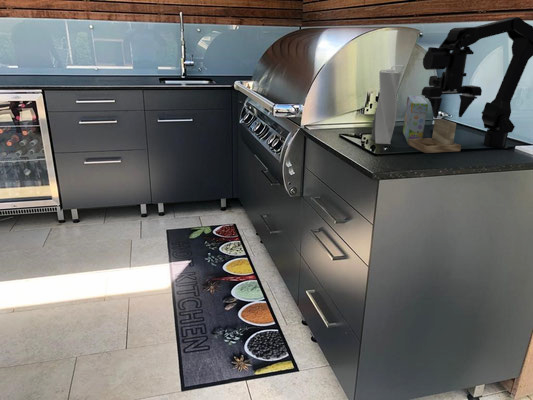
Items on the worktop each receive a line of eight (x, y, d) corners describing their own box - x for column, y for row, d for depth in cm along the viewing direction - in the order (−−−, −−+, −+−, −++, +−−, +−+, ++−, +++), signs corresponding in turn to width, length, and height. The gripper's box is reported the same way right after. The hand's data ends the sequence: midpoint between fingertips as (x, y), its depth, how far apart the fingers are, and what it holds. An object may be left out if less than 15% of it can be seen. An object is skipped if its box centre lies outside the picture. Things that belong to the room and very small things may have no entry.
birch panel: (438, 144, 154) (442, 119, 151) (452, 149, 147) (456, 123, 144) (431, 144, 154) (434, 119, 150) (444, 150, 146) (448, 123, 143)
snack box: (423, 145, 156) (429, 103, 150) (406, 145, 157) (412, 102, 151) (416, 133, 175) (421, 95, 170) (401, 132, 176) (406, 94, 171)
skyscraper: (393, 142, 161) (402, 63, 151) (395, 148, 153) (405, 65, 143) (370, 141, 162) (377, 63, 152) (371, 147, 155) (379, 65, 144)
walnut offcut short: (424, 143, 151) (424, 140, 150) (433, 146, 146) (433, 143, 146) (417, 144, 150) (417, 140, 150) (426, 147, 146) (426, 144, 145)
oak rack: (440, 145, 156) (441, 137, 155) (459, 153, 146) (461, 145, 145) (407, 146, 154) (408, 139, 153) (424, 155, 144) (426, 146, 143)
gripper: (465, 66, 149) (457, 112, 155) (415, 67, 146) (410, 114, 151) (486, 69, 139) (478, 118, 145) (434, 70, 135) (427, 120, 141)
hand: (447, 117), depth 146 cm, fingers open, 9 cm apart
